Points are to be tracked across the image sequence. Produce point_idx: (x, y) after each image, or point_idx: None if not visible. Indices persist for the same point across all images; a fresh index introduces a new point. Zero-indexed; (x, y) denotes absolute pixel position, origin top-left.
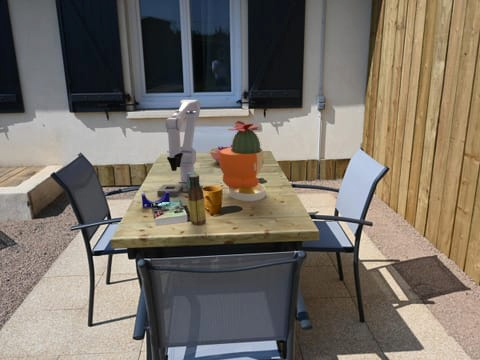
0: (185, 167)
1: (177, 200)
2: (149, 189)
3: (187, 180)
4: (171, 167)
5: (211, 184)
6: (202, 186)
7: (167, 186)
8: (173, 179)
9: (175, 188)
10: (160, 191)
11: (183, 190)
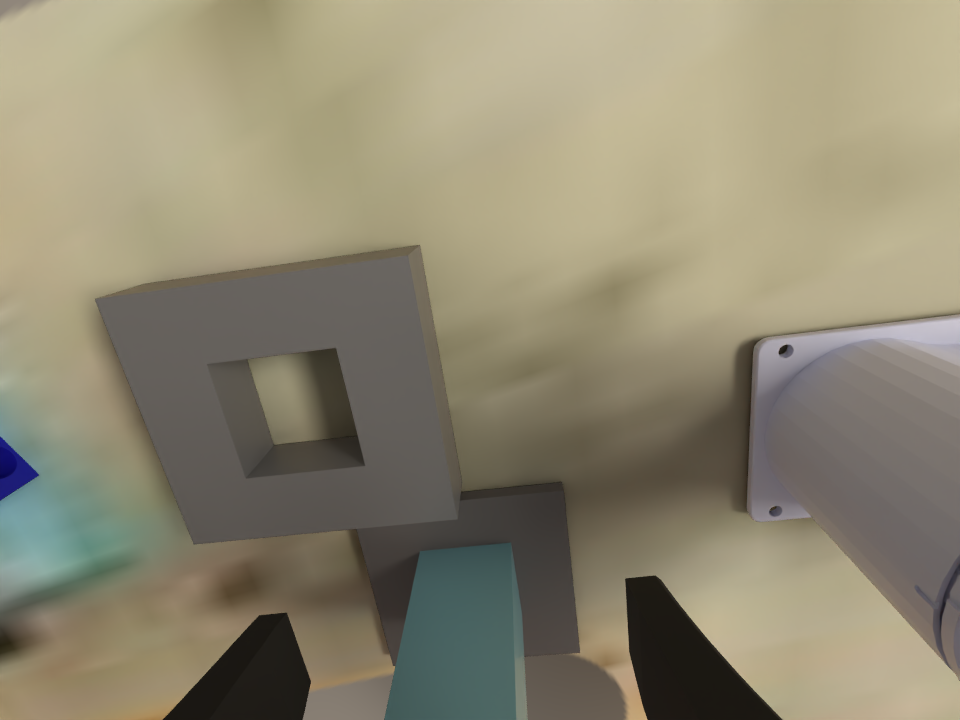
0: (915, 595)
1: (110, 540)
2: (370, 15)
3: (400, 654)
4: (198, 694)
5: None
6: (562, 653)
7: (338, 357)
8: (942, 193)
9: (283, 489)
10: (115, 344)
11: None
